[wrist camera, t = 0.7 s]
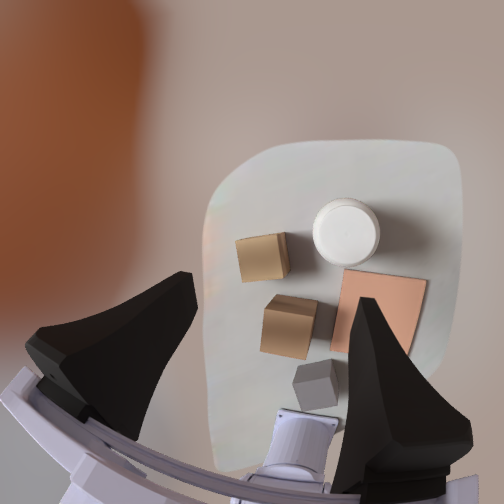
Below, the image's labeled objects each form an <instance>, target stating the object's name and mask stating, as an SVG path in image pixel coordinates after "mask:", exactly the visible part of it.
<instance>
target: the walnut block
mask: <svg viewBox="0 0 504 504" xmlns="http://www.w3.org/2000/svg"><path fill="white" fill-rule="evenodd" d="M317 303H318V301H316V300H310V299H303V298H297V297H290V296H284V295H278V294H276V295H275V297H274V298H273V299H272V300H271V302H270V303H269V304H268V305H267V306H266V308H265V309H264V318H263V328H262V337H261V345H260V351H261V352H266V353H270V354H275V355H280V356H286V357H291V358H296V359H302V360H306V357H307V353H308V350H309V346H310V342H311V338H312V333H313V327H314V321H315V316H316V310H317Z"/></svg>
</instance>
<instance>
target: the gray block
mask: <svg viewBox="0 0 504 504" xmlns="http://www.w3.org/2000/svg"><path fill="white" fill-rule="evenodd" d="M292 385H293V388H294V390H295V393H296V396H297V399H298V402H299V405H300V408H301V410H302V411H309V410H316V409H321V408H327V407H333V406H338V394H339V384H338V380H337V376H336V373H335V369H334V365H333V362H332V359H328V360H324V361H319V362H315V363H310V364H305V365H300V366H298V368H297V371H296V374H295V377H294V380H293V383H292Z"/></svg>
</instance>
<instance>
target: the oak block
mask: <svg viewBox="0 0 504 504" xmlns="http://www.w3.org/2000/svg"><path fill="white" fill-rule="evenodd" d="M235 243H236V249H237V255H238V261H239V266H240V272H241V278H242V283H243V282H253V281H262V280H272V279H281V278H284V277H285V276H286V275H287V274H288V272H289V271H290V263H289V257H288V250H287V244H286V237H285V232H282V233H275V234H269V235H263V236H256V237H250V238H245V239H241V240H237V241H235Z"/></svg>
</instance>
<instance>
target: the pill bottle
mask: <svg viewBox="0 0 504 504" xmlns="http://www.w3.org/2000/svg"><path fill="white" fill-rule="evenodd" d="M313 240H314V243H315V246H316V248H317V250H318V252H319V253H320V254H321V256H322V257H323V258H324V259H326V260H327V261H328V262H330V263H332V264H334V265H337V266H340V267H354V266H357V265H360V264H362V263H364V262H365V261H367V260H368V259H369V258H370V257H371V256H372V255H373V254H374V252H375V251H376V249H377V246H378V244H379V240H380V227H379V223H378V220H377V218H376V216H375V214H374V213H373V211H372V210H371V209H370V208H369V207H368V206H367V205H366V204H364V203H363V202H361V201H358V200H356V199H352V198H340V199H336V200H333V201H331V202H329V203H327V204H326V205H325V206H324V207H323V208H322V209H321V210H320V211H319V213H318V214H317V216H316V218H315V221H314V225H313Z"/></svg>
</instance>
